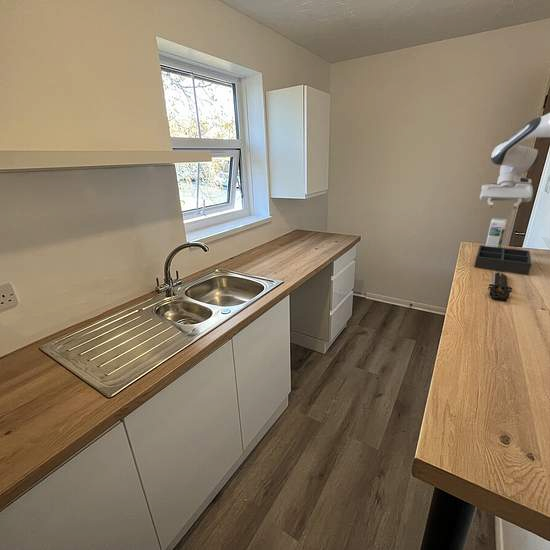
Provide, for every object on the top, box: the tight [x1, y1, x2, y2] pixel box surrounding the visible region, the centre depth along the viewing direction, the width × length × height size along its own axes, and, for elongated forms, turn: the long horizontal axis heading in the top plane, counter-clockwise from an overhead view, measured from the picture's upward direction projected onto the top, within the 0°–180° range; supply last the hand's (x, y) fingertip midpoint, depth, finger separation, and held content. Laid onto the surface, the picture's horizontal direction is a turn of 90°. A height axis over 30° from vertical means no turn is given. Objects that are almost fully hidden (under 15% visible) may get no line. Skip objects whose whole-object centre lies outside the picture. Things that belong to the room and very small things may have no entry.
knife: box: [488, 271, 513, 302], centre depth 105 cm, size 25×6×1 cm, turn 140°
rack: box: [473, 244, 532, 276], centre depth 123 cm, size 17×17×5 cm
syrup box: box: [485, 217, 509, 248], centre depth 137 cm, size 6×6×14 cm
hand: (502, 207), depth 142 cm, fingers open, 8 cm apart
